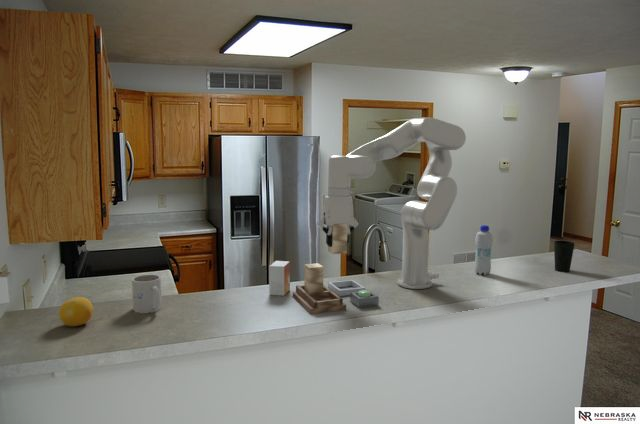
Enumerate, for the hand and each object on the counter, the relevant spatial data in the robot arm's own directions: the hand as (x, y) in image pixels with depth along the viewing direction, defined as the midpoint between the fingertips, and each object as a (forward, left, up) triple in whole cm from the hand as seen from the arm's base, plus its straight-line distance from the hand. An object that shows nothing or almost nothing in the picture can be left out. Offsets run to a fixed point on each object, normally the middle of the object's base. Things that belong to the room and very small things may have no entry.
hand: (337, 245), depth 169 cm
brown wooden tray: (+8, +4, -18) cm, 20 cm away
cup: (-102, 0, -18) cm, 103 cm away
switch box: (-6, +10, -18) cm, 21 cm away
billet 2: (0, 0, -3) cm, 3 cm away
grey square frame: (-6, -5, -18) cm, 20 cm away
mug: (+61, -7, -18) cm, 64 cm away
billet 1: (+8, 0, -17) cm, 19 cm away
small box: (+17, -11, -18) cm, 27 cm away
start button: (-6, +10, -17) cm, 21 cm away
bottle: (-67, -7, -18) cm, 69 cm away
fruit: (+81, -1, -18) cm, 83 cm away
